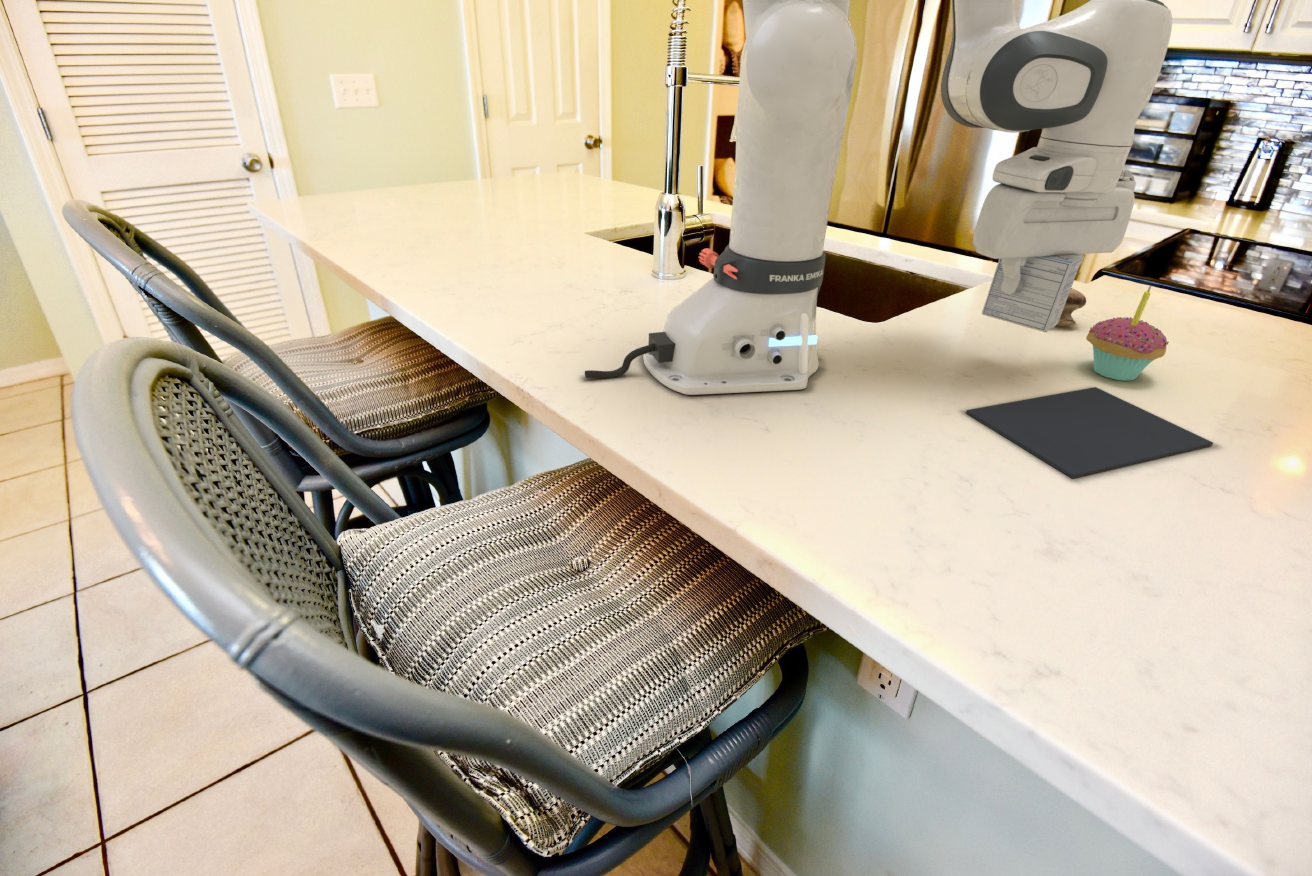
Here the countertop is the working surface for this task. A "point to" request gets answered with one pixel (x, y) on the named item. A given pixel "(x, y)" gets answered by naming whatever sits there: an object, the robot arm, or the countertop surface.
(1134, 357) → the cupcake
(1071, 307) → the mushroom
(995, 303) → the medicine box
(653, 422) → the countertop surface
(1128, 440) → the cloth
